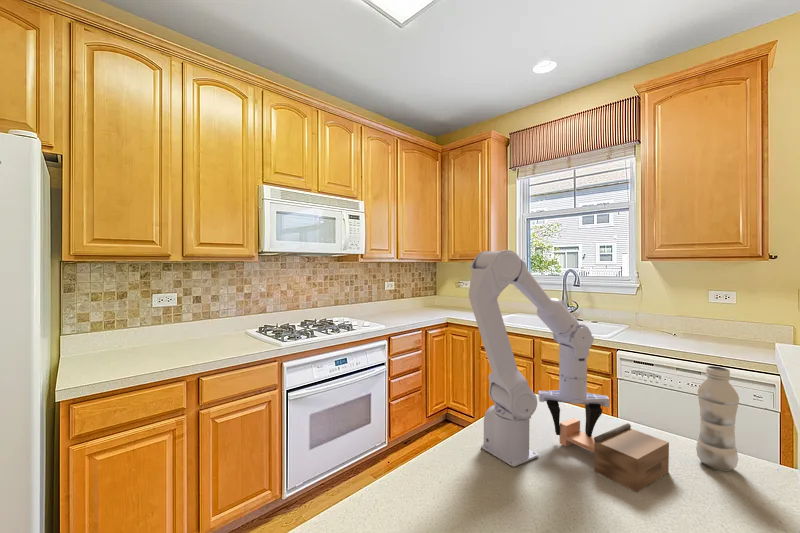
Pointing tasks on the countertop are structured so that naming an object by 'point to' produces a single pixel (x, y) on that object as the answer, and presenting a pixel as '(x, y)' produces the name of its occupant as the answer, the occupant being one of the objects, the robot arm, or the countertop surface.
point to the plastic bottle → (717, 420)
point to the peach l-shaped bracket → (575, 435)
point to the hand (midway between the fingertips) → (572, 434)
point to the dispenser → (630, 457)
